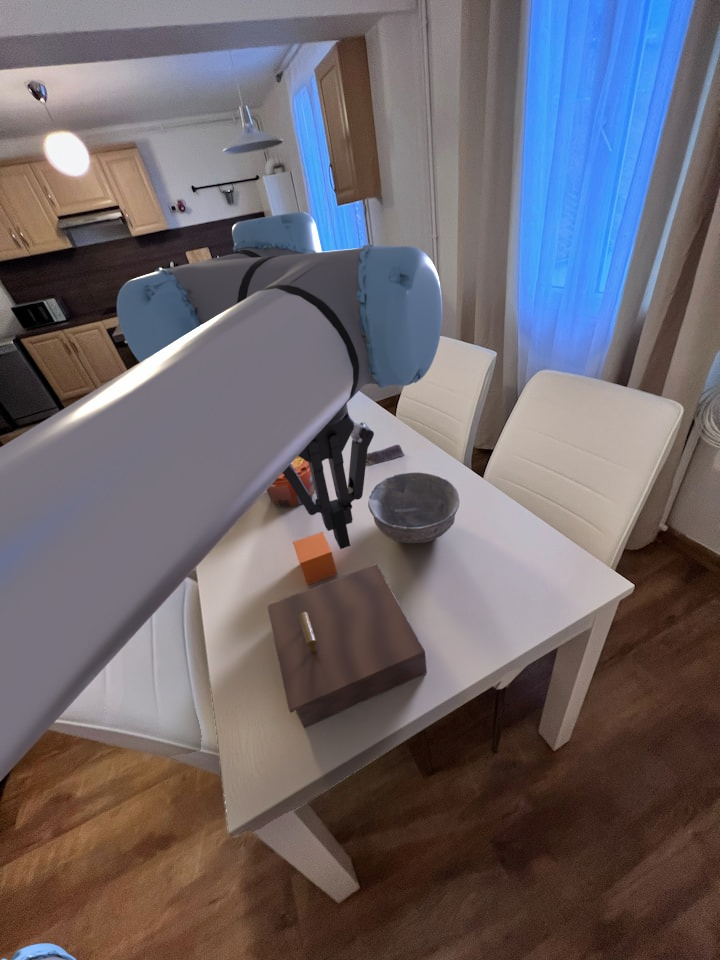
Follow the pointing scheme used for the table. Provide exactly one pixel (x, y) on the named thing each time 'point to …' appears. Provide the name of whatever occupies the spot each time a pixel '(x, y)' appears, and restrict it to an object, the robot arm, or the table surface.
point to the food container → (283, 490)
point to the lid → (339, 636)
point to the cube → (315, 558)
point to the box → (362, 691)
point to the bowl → (414, 506)
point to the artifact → (384, 455)
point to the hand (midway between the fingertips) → (342, 541)
